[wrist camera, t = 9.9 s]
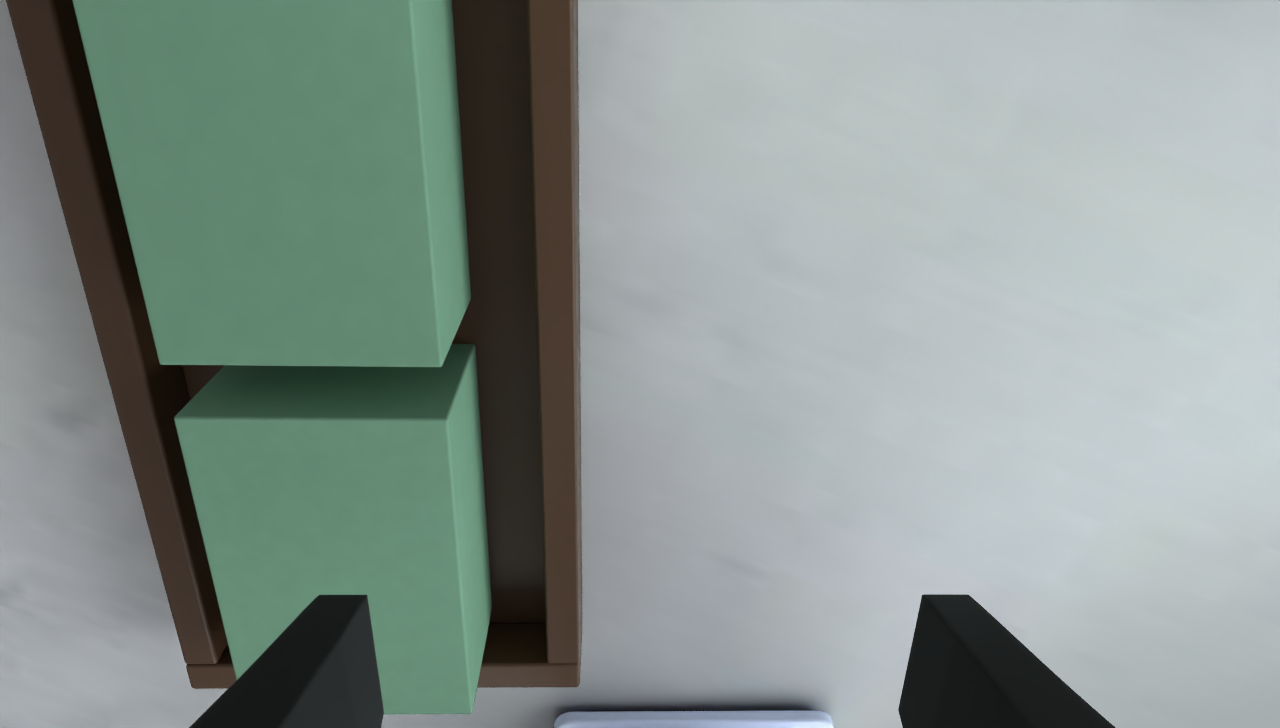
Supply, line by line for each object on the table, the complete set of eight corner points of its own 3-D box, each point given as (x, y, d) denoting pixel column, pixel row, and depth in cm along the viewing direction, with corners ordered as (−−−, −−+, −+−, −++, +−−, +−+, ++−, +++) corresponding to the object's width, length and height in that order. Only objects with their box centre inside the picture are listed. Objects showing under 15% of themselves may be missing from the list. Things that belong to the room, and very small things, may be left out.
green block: (492, 607, 22) (472, 714, 19) (297, 607, 22) (243, 716, 19) (475, 342, 19) (447, 419, 16) (247, 340, 19) (171, 417, 16)
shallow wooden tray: (582, 632, 23) (579, 688, 21) (224, 632, 23) (190, 690, 21) (576, -167, 15) (571, -185, 13) (28, -185, 15) (-53, -205, 13)
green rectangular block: (471, 299, 18) (442, 368, 15) (237, 296, 18) (158, 365, 15) (446, -93, 15) (402, -108, 12) (162, -101, 15) (42, -118, 12)
